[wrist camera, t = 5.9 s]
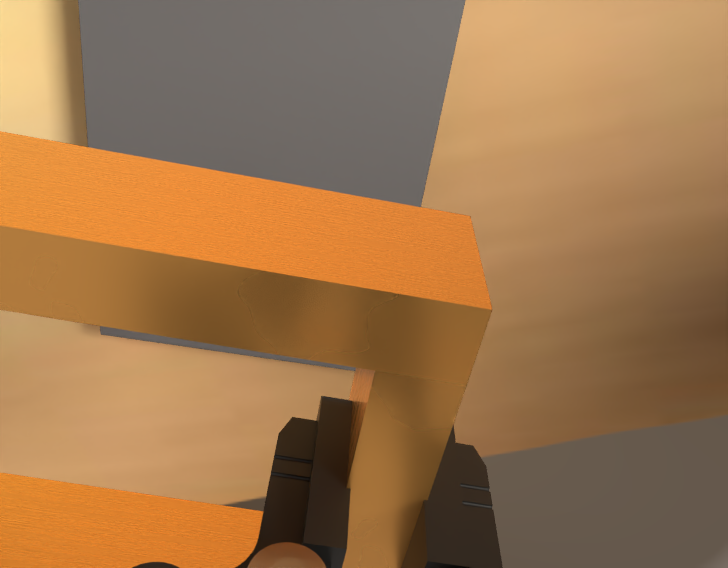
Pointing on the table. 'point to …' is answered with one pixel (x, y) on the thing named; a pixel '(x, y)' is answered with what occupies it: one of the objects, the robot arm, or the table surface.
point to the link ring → (240, 332)
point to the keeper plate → (272, 93)
